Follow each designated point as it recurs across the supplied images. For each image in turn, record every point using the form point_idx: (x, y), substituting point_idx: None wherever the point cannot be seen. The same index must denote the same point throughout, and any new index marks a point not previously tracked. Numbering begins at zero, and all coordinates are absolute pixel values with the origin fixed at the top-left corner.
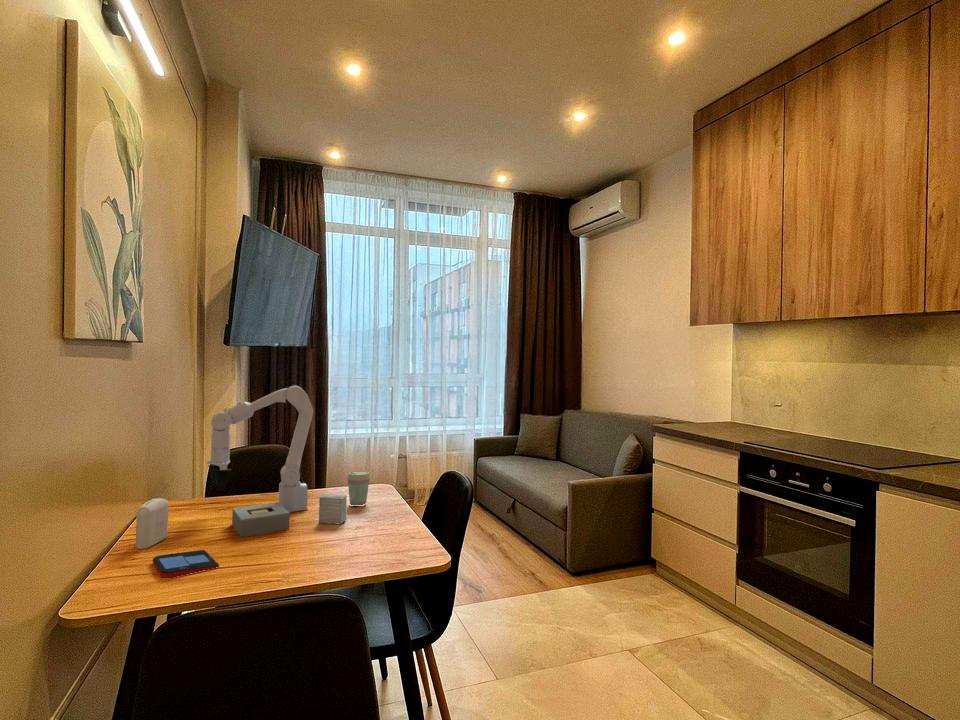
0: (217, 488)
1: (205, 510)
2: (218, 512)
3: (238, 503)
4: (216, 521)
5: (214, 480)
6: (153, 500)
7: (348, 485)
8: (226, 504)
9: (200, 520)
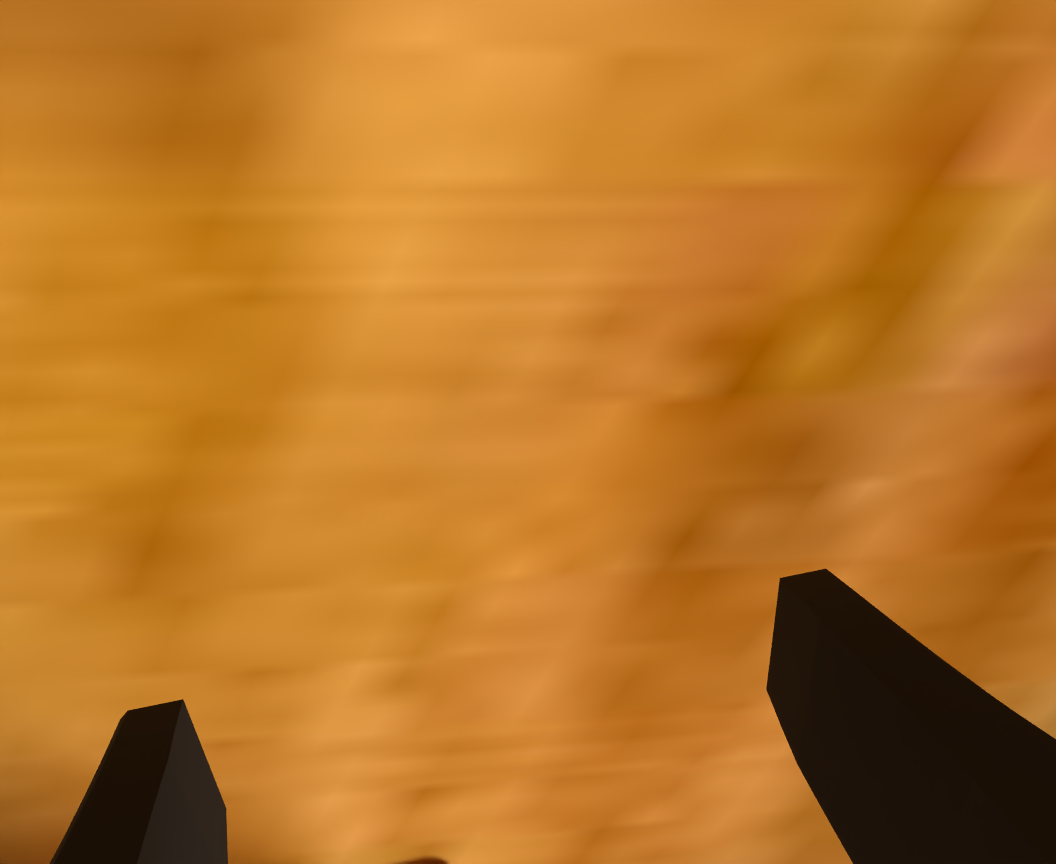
0: (109, 754)
1: (828, 139)
2: (593, 328)
3: (908, 539)
4: (28, 312)
5: (863, 692)
6: None
7: None
8: (963, 414)
9: (182, 48)
